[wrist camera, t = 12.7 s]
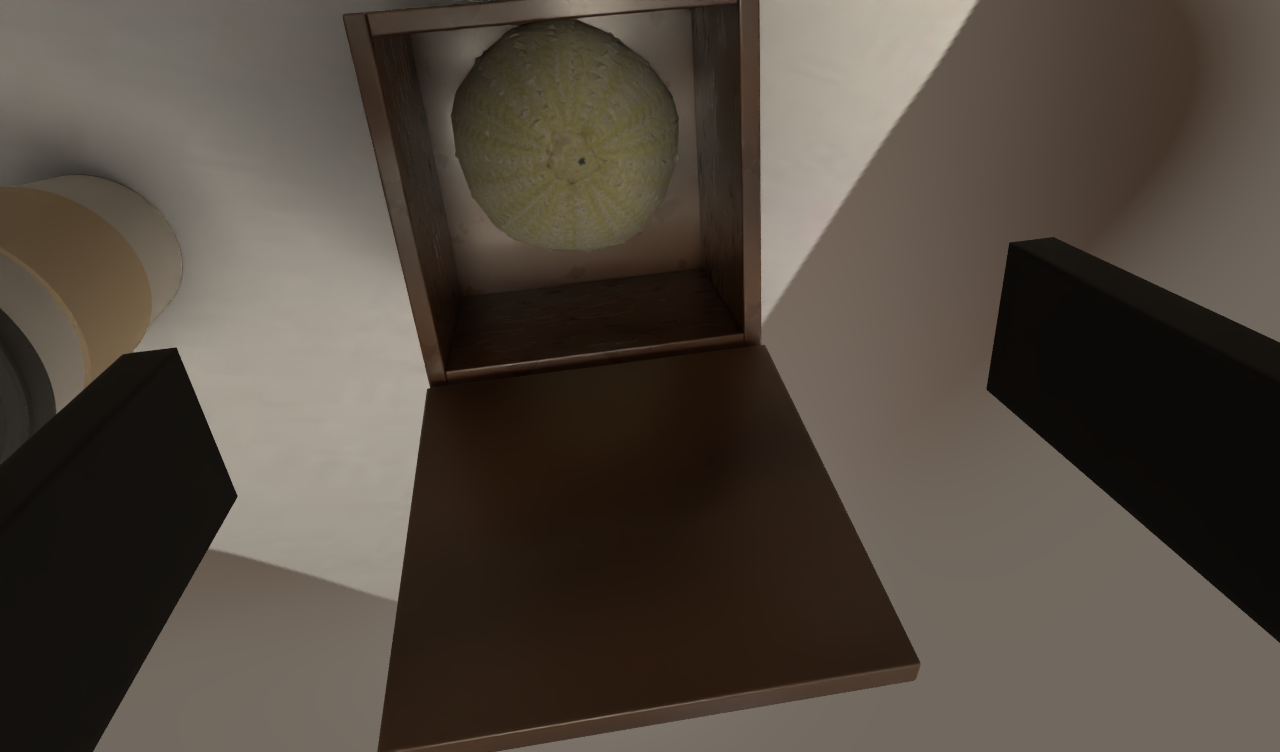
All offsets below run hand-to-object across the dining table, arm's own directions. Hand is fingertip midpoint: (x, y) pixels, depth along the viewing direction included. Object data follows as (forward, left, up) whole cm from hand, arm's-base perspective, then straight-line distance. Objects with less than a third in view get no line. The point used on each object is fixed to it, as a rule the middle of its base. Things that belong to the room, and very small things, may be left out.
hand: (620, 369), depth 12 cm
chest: (+1, 0, -24) cm, 24 cm away
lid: (+8, 0, -8) cm, 11 cm away
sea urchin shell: (0, 0, -23) cm, 23 cm away
